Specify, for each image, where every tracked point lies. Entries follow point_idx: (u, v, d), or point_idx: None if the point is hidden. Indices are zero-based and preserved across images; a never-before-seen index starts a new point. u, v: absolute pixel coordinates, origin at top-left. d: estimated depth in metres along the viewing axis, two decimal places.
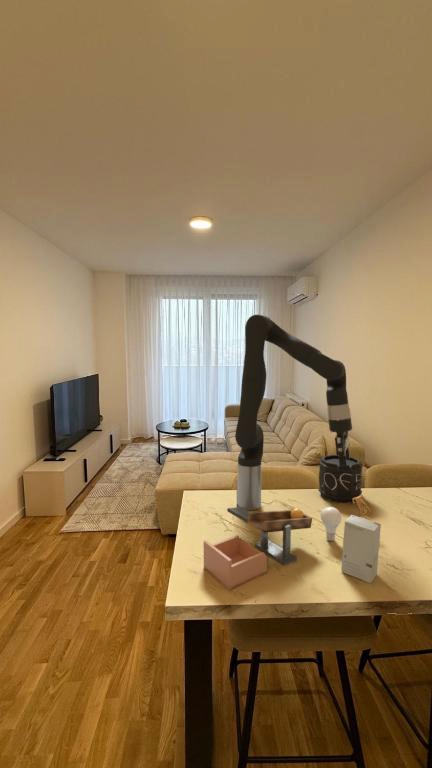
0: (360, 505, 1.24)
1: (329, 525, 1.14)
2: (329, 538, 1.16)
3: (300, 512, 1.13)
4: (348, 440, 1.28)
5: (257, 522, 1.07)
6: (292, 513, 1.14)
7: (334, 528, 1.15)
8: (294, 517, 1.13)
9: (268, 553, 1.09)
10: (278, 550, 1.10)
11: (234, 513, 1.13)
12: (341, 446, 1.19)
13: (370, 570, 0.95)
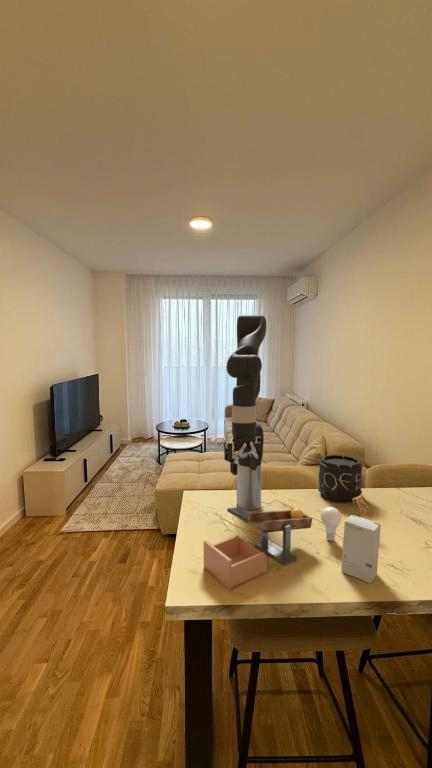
0: (360, 505, 1.24)
1: (329, 525, 1.14)
2: (329, 538, 1.16)
3: (300, 512, 1.13)
4: (253, 448, 1.12)
5: (257, 522, 1.07)
6: (292, 513, 1.14)
7: (334, 528, 1.15)
8: (294, 517, 1.13)
9: (268, 553, 1.09)
10: (278, 550, 1.10)
11: (234, 513, 1.13)
12: (227, 452, 1.07)
13: (370, 570, 0.95)
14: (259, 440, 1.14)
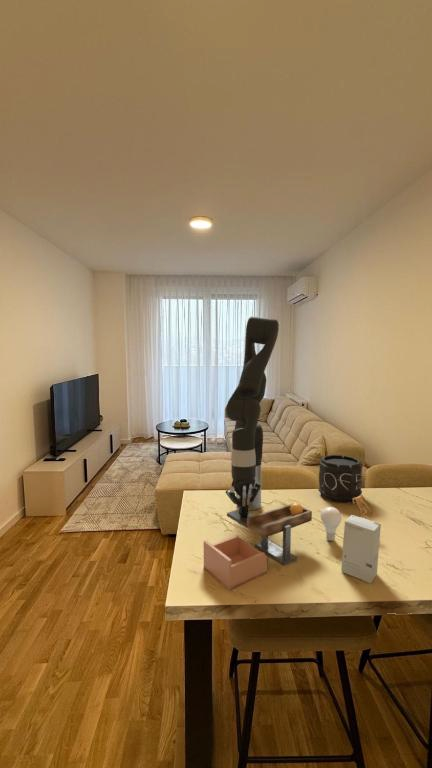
0: (360, 505, 1.24)
1: (329, 525, 1.14)
2: (329, 538, 1.16)
3: (299, 507, 1.13)
4: (250, 492, 1.12)
5: (256, 526, 1.07)
6: (291, 509, 1.13)
7: (334, 528, 1.15)
8: (294, 513, 1.13)
9: (268, 553, 1.09)
10: (278, 550, 1.10)
11: (234, 518, 1.13)
12: (233, 500, 1.10)
13: (370, 570, 0.95)
14: (257, 486, 1.15)
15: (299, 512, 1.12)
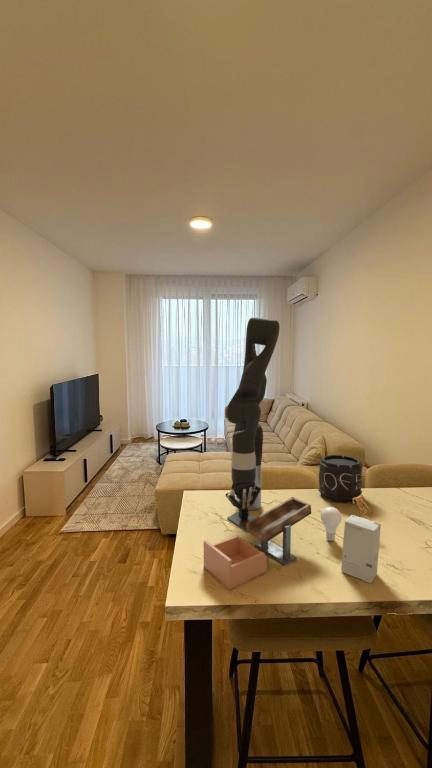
0: (360, 505, 1.24)
1: (329, 525, 1.14)
2: (329, 538, 1.16)
3: None
4: (250, 495, 1.12)
5: (256, 530, 1.07)
6: None
7: (334, 528, 1.15)
8: None
9: (268, 553, 1.09)
10: (278, 550, 1.10)
11: (234, 523, 1.13)
12: (233, 503, 1.10)
13: (370, 570, 0.95)
14: (257, 489, 1.15)
15: None
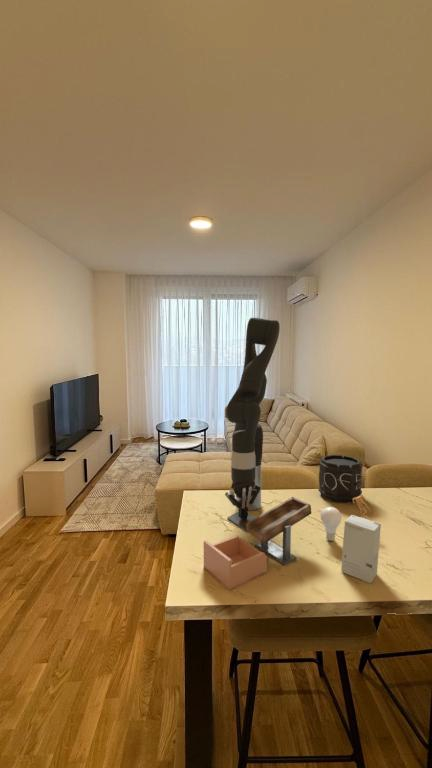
0: (360, 505, 1.24)
1: (329, 525, 1.14)
2: (329, 538, 1.16)
3: None
4: (249, 494, 1.12)
5: (256, 530, 1.07)
6: None
7: (334, 528, 1.15)
8: None
9: (268, 553, 1.09)
10: (278, 550, 1.10)
11: (234, 523, 1.13)
12: (233, 502, 1.10)
13: (370, 570, 0.95)
14: (256, 488, 1.15)
15: None
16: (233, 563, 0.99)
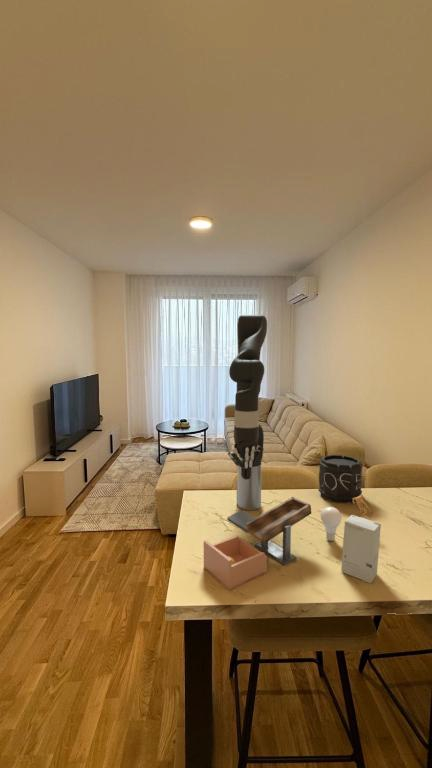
0: (360, 505, 1.24)
1: (329, 525, 1.14)
2: (329, 538, 1.16)
3: None
4: (252, 454, 1.12)
5: (256, 530, 1.07)
6: None
7: (334, 528, 1.15)
8: None
9: (268, 553, 1.09)
10: (278, 550, 1.10)
11: (234, 523, 1.13)
12: (235, 461, 1.10)
13: (370, 570, 0.95)
14: (259, 449, 1.14)
15: None
16: None
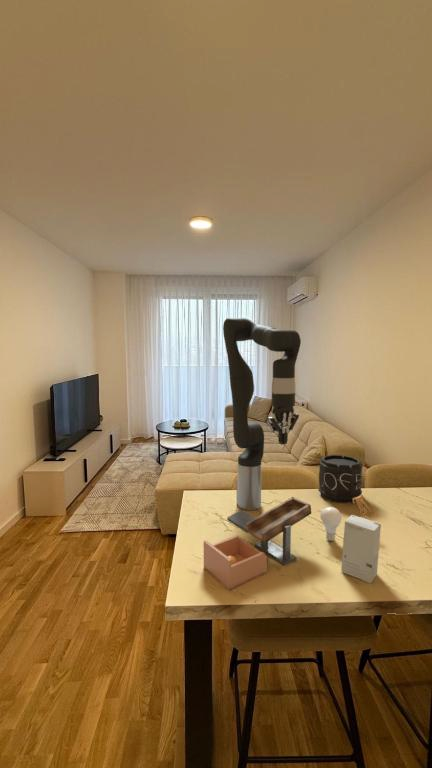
0: (360, 505, 1.24)
1: (329, 525, 1.14)
2: (329, 538, 1.16)
3: None
4: (289, 420, 1.17)
5: (256, 530, 1.07)
6: None
7: (334, 528, 1.15)
8: None
9: (268, 553, 1.09)
10: (278, 550, 1.10)
11: (234, 523, 1.13)
12: (274, 426, 1.15)
13: (370, 570, 0.95)
14: (295, 416, 1.20)
15: None
16: None
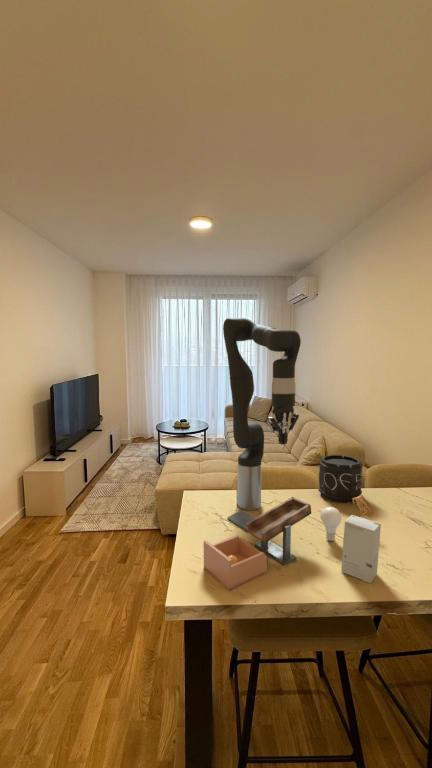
0: (360, 505, 1.24)
1: (329, 525, 1.14)
2: (329, 538, 1.16)
3: None
4: (289, 420, 1.17)
5: (256, 530, 1.07)
6: None
7: (334, 528, 1.15)
8: None
9: (268, 553, 1.09)
10: (278, 550, 1.10)
11: (234, 523, 1.13)
12: (274, 426, 1.15)
13: (370, 570, 0.95)
14: (295, 416, 1.20)
15: None
16: None
